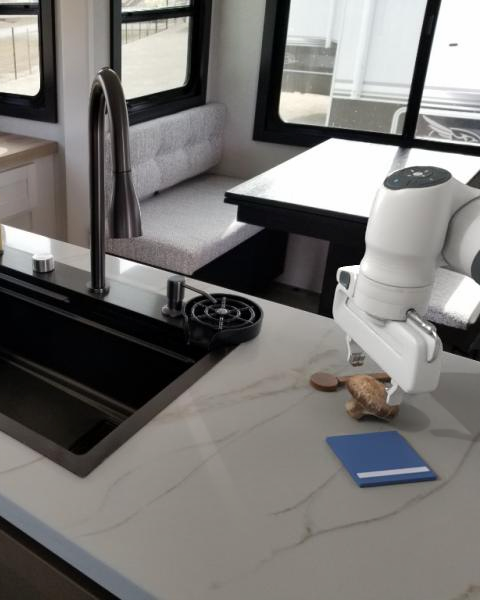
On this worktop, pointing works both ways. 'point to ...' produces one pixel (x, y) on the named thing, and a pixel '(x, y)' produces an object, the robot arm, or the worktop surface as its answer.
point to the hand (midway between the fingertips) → (372, 382)
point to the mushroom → (368, 398)
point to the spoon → (338, 380)
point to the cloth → (379, 459)
